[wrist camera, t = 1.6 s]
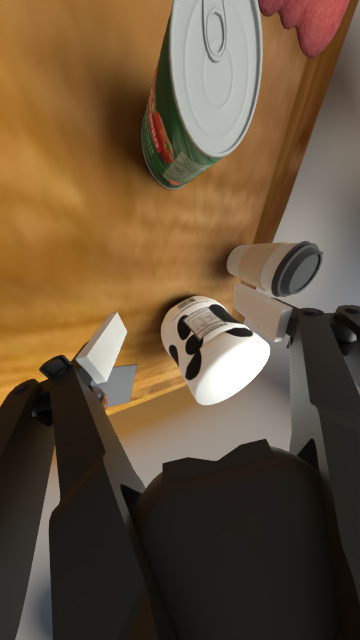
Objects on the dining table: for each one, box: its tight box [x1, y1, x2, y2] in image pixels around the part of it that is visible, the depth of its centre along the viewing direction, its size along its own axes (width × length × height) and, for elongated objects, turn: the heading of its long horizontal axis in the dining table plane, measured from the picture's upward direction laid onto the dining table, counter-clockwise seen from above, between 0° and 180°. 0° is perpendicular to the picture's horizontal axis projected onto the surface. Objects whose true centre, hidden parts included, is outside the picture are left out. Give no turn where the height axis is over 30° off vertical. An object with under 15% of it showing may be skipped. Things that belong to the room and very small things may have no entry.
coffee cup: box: [227, 241, 323, 297], centre depth 26 cm, size 9×9×15 cm
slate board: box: [90, 364, 137, 407], centre depth 37 cm, size 11×17×1 cm, turn 162°
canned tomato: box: [141, 0, 262, 190], centre depth 14 cm, size 8×8×11 cm
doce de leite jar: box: [161, 296, 270, 405], centre depth 29 cm, size 17×17×18 cm
